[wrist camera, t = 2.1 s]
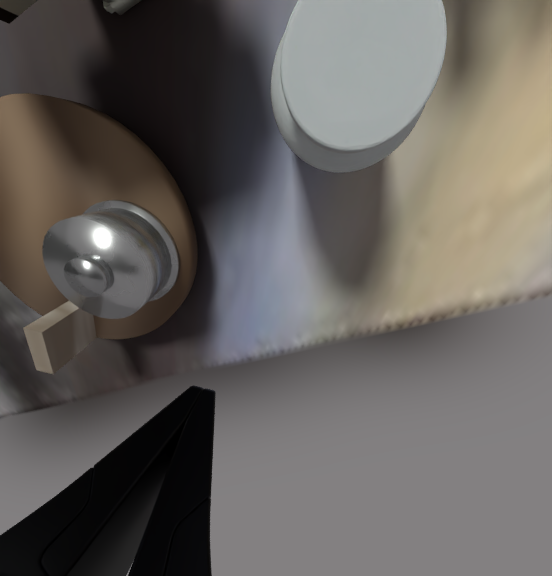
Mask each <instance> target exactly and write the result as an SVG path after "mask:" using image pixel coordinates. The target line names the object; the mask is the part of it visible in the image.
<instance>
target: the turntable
mask: <svg viewBox="0 0 552 576" xmlns="http://www.w3.org/2000/svg"><path fill="white" fill-rule="evenodd" d="M108 200H124V201H129V202H132V203H135V204H137V205H140V206H142V207H143V208H145V209H147V210H148V211H150V212H151V213H153V214H154V215H155V216H156V217H157V218H158V219H160V220H161V222H162V223H163V224H164V225H165V226H166V227H167V229H168V230H169V231H170V233H171V235H172V236H173V238H174V240H175V243H176V245H177V248H178V251H179V256H180V272H179V277H178V279H177V281H176V283H175V285H174V286H173V287H172V289H171V290H170V291H169V292H168V293H166V294H165V295H164V296H162V297H161V298H159V299H156V300H153V301H149V302H147V303H146V304H145V305H144V306H142V307H141V308H140V309H139V310H138V311H137V312H135V313H134V314H132V315H130V316H128V317H125V318H121V319H107V318H101V317H98V316H95V315H92V314H90V313H88V312H86V311H84V310H82V309H80V308H79V307H77V306H76V305H74V304H73V303H72V302H70V301H69V300H68V299H67V298H66V297H65V296H64V295H63V294H62V293H61V292H60V291H59V290H58V288H57V287H56V286H55V284H54V283H53V281H52V280H51V278H50V276H49V274H48V272H47V270H46V267H45V264H44V260H43V254H42V247H43V241H44V237H45V235H46V233H47V231H48V230H49V229H50V228H51V227H52V226H53V225H54V224H55V223H57V222H59V221H61V220H64V219H68V218H71V217H75V216H79V215H82V214H83V213H84V212H85V211H86V210H87V209H88V208H89V207H91V206H92V205H94V204H96V203H99V202H103V201H108ZM197 261H198V252H197V239H196V233H195V228H194V224H193V221H192V217H191V213H190V211H189V208H188V206H187V203H186V201H185V199H184V196H183V194H182V193H181V191H180V189H179V187H178V185H177V183H176V181H175V180H174V178H173V177H172V175H171V174H170V172H169V171H168V170H167V168H166V167H165V165H164V164H163V163H162V161H161V160H160V159H159V158H158V157H157V156H156V154H155V153H154V152H153V151H152V150H151V149H150V148H149V147H148V146H147V145H146V144H145V143H144V142H143V141H142V140H141V139H140V138H139V137H138V136H137V135H135V134H134V133H133V132H132V131H130V130H129V129H128V128H126V127H125V126H124V125H122V124H121V123H120V122H118V121H116V120H115V119H113V118H111V117H110V116H108V115H106V114H104V113H103V112H100V111H98V110H96V109H93V108H91V107H89V106H87V105H83V104H80V103H76V102H73V101H69V100H65V99H60V98H55V97H51V96H45V95H37V94H29V93H27V94H10V95H6V96H2V97H0V281H1V282H2V283H3V284H4V285H5V286H6V287H7V288H8V289H9V290H10V291H11V292H12V293H13V294H14V295H15V296H17V297H18V298H19V299H20V300H21V301H23V302H24V303H25V304H26V305H28V306H29V307H30V308H32V309H33V310H35V311H36V312H37V313H39V314H40V315H42V316H43V317H41V318H39V319H38V320H36V321H34V322H33V323H31V324H29V325H28V326H26V327H24V328H23V329H24V332H25V336H26V339H27V342H28V345H29V348H30V351H31V354H32V358H33V361H34V364H35V367H36V370H38V371H42V372H46V373H50V374H54V373H56V372H57V371H58V370H59V369H60V368H62V367H63V366H64V365H65V364H66V363H67V362H69V361H70V360H71V359H72V358H73V357H75V356H76V355H77V354H78V353H79V352H81V351H82V350H83V349H84V348H85V347H86V346H88V345H89V344H90V343H91V342H92V341H94V340H95V339H96V338H104V339H127V338H133V337H138V336H141V335H144V334H147V333H149V332H151V331H153V330H155V329H157V328H158V327H160V326H161V325H162V324H164V323H165V322H166V321H167V320H168V319H169V318H170V317H171V316H172V315H173V314H174V313H175V312H176V310H177V309H178V308H179V307H180V306H181V305H182V303H183V302H184V300H185V299H186V297H187V296H188V294H189V292H190V290H191V288H192V285H193V282H194V278H195V275H196V269H197Z"/></svg>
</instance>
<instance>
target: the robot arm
mask: <svg viewBox="0 0 552 576" xmlns="http://www.w3.org/2000/svg"><path fill="white" fill-rule="evenodd" d="M214 414H215V391H214V390H210V389H203V388H201V387H197V386H191V387H190V388H188V389H187V390H186V391H185V392H183V393H182V394H181V395H180V396H178V397H177V398H176V399H175V400H174V401H172V402H171V403H170V404H169V405H168V406H167V407H165V408H164V409H163V410H161V411H160V412H159V413H158V414H156V415H155V416H154V417H153V418H152V419H150V420H149V421H148V422H147V423H145V424H144V425H143V426H142V427H141V428H139V429H138V430H137V431H136V432H134V433H133V434H132V435H131V436H130V437H128V438H127V439H126V440H125V441H123V442H122V443H121V444H120V445H119V446H117V447H116V448H115V449H114V450H112V451H111V452H110V453H109V454H107V455H106V456H105V457H104V458H103V459H101V460H100V461H99V462H98V463H97V464H95V465H94V468H90V469H89V470H88V471H86V472H85V473H84V474H83V475H82V476H81V477H79V478H78V479H77V480H75V481H74V482H73V483H72V484H70V485H69V486H68V487H67V488H65V489H64V490H63V491H61V492H60V493H59V494H58V495H56V496H55V497H54V498H52V499H51V500H50V501H48V502H47V503H45V504H44V505H43V506H41V507H40V508H38V509H37V510H36V511H35V512H33V513H32V514H30V515H29V516H27V517H26V518H24V519H23V520H22V521H20V522H19V523H17V524H16V525H14V526H13V527H12V528H10V529H9V530H7V531H6V532H5V533H3V534H2V535H0V576H126V575H127V573H128V571H129V569H130V567H131V564H132V563H133V564H132V567H131V570H130V572H129V575H128V576H212V575H211V557H210V506H211V499H210V498H211V481H212V459H213V435H214ZM134 558H135V559H134ZM133 560H134V561H133Z"/></svg>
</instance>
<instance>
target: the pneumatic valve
mask: <svg viewBox="0 0 552 576" xmlns="http://www.w3.org/2000/svg"><path fill="white" fill-rule="evenodd" d="M36 1H37V0H0V20H2V21H4V22H7V23H11V22H12V21H13V20H14V19H16V18H17V17H18V16H19V15H20V14H22V13H23V12H24V11H25V10H26V9H28V8H29V7H30V6H31V5H32V4H34V3H35V2H36ZM140 1H141V0H103V6H104V8H105V10H106V11H108V12H110V13H111V14H112V13H113V12H117V13H118V14H119V15H122V14H123V13H125V12H126V11H127V10H129V9H130V8H131V7H133V6H134V5H136V4H137V3H138V2H140Z"/></svg>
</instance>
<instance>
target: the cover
mask: <svg viewBox="0 0 552 576" xmlns="http://www.w3.org/2000/svg"><path fill="white" fill-rule="evenodd" d="M42 254H43V260H44V264H45V267H46V270H47V272H48V274H49V276H50V278H51V280H52V281H53V283H54V284H55V286H56V287H57V288H58V290H59V291H60V292H61V293H62V294H63V295H64V296H65V297H66V298H67V299H68V300H69V301H70V302H72V303H73V304H74V305H76V306H77V307H79V308H80V309H82V310H84V311H86V312H88V313H90V314H92V315H95V316H98V317H101V318H107V319H121V318H125V317H128V316H130V315H132V314H134V313H135V312H137V311H138V310H139V309H140V308H141V307H142V306H144V305H145V304H146V303H147V302H149V301H153V300H156V299H159V298H161V297H162V296H164V295H165V294H166V293H168V292H169V291H170V290H171V289H172V287H173V286H174V285H175V283H176V281H177V279H178V277H179V272H180V256H179V251H178V248H177V245H176V243H175V240H174V238H173V236H172V235H171V233H170V231H169V230H168V229H167V227H166V226H165V225H164V224H163V223H162V222H161V220H160V219H158V218H157V217H156V216H155V215H154V214H153V213H151V212H150V211H148V210H147V209H145V208H143V207H142V206H140V205H137V204H135V203H132V202H129V201H124V200H108V201H103V202H99V203H96V204H94V205H92V206H91V207H89V208H88V209H87V210H86V211H85V212H84V213H83V214H82V215H79V216H75V217H71V218H68V219H64V220H61V221H59V222H57V223H55V224H54V225H53V226H52V227H51V228H50V229H49V230H48V231H47V233H46V235H45V237H44V241H43V247H42Z"/></svg>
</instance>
